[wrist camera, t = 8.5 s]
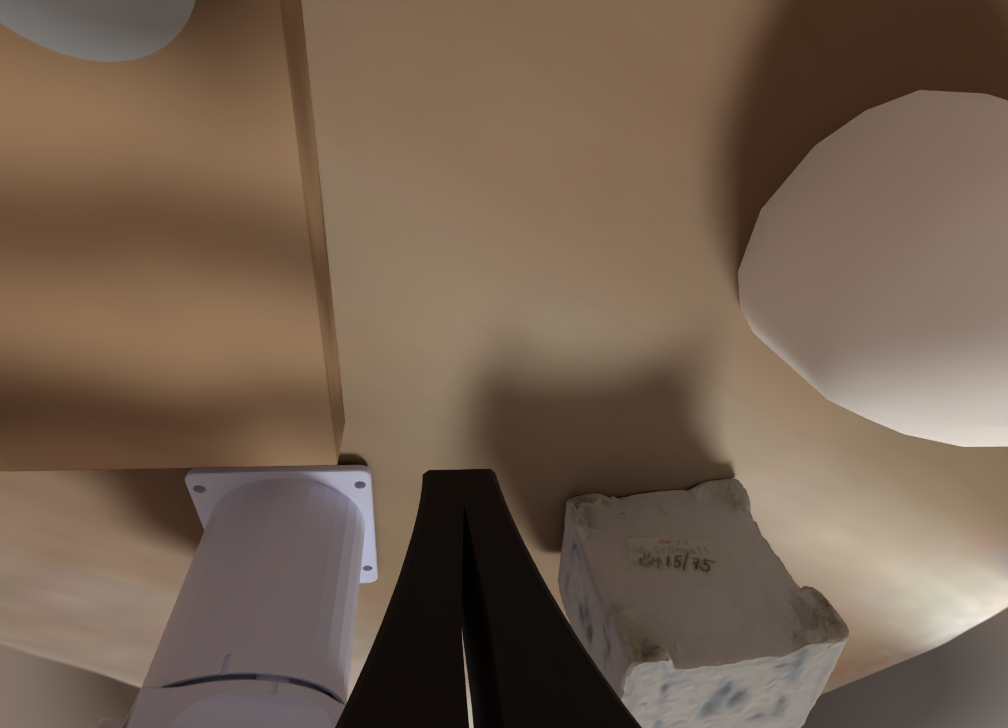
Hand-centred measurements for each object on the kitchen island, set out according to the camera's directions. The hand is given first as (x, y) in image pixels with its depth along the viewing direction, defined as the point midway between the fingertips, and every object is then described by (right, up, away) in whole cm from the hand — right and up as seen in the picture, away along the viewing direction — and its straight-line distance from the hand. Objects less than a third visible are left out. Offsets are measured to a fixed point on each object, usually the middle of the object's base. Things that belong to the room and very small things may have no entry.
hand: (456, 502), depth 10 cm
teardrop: (+16, +8, +10) cm, 20 cm away
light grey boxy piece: (+9, -6, +19) cm, 22 cm away
